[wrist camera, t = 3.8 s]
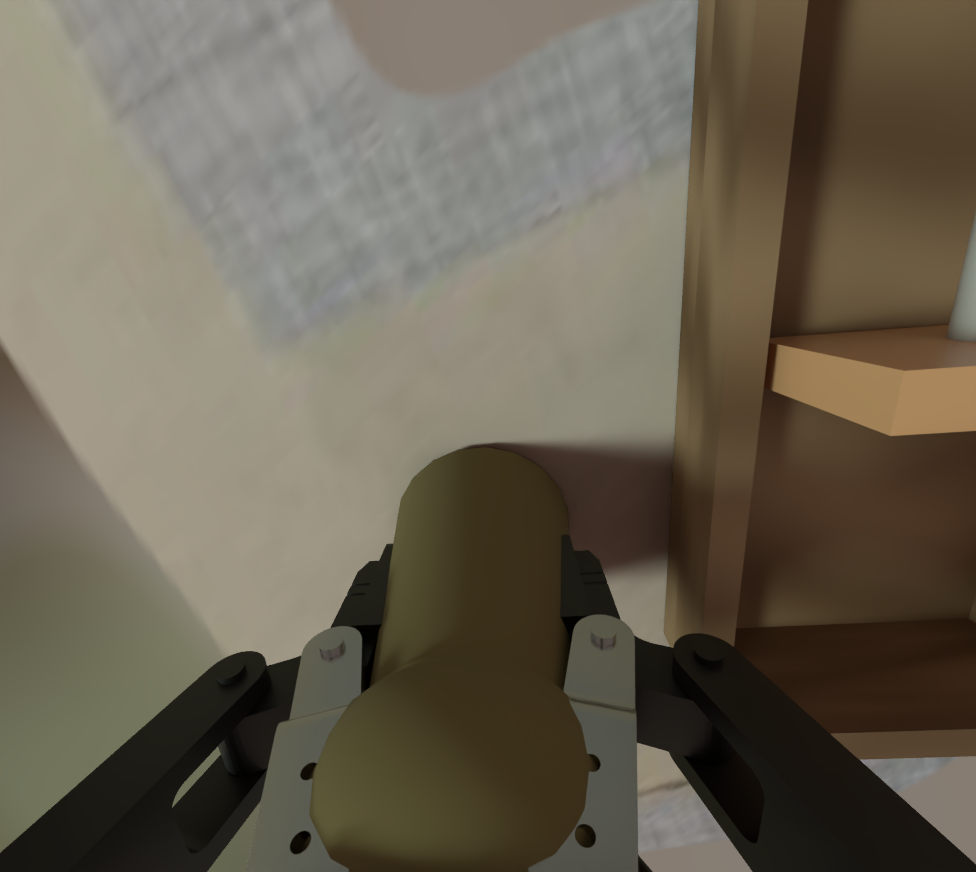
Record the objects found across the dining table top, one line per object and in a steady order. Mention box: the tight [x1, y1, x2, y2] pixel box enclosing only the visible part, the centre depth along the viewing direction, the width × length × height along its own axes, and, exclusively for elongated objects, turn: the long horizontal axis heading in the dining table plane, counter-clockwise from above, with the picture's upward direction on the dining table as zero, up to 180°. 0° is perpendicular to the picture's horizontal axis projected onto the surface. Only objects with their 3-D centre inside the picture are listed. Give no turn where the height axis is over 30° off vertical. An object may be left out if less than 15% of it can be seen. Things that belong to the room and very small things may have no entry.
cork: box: [301, 447, 599, 872], centre depth 11 cm, size 6×6×11 cm
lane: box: [664, 0, 976, 759], centre depth 11 cm, size 20×11×6 cm, turn 4°
